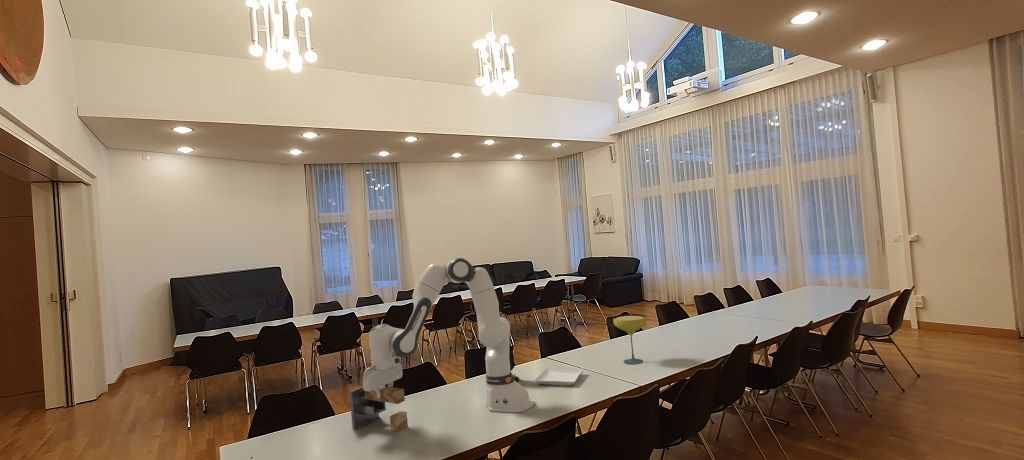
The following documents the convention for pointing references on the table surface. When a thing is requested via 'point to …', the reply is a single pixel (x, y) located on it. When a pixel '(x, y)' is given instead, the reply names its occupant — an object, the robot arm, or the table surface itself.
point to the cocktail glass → (630, 329)
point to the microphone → (512, 360)
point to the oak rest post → (398, 421)
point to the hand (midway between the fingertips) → (384, 395)
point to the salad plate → (559, 376)
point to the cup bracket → (364, 408)
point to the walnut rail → (387, 395)
